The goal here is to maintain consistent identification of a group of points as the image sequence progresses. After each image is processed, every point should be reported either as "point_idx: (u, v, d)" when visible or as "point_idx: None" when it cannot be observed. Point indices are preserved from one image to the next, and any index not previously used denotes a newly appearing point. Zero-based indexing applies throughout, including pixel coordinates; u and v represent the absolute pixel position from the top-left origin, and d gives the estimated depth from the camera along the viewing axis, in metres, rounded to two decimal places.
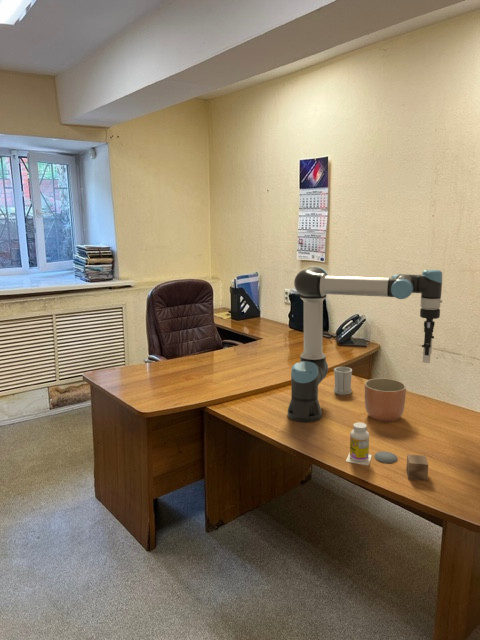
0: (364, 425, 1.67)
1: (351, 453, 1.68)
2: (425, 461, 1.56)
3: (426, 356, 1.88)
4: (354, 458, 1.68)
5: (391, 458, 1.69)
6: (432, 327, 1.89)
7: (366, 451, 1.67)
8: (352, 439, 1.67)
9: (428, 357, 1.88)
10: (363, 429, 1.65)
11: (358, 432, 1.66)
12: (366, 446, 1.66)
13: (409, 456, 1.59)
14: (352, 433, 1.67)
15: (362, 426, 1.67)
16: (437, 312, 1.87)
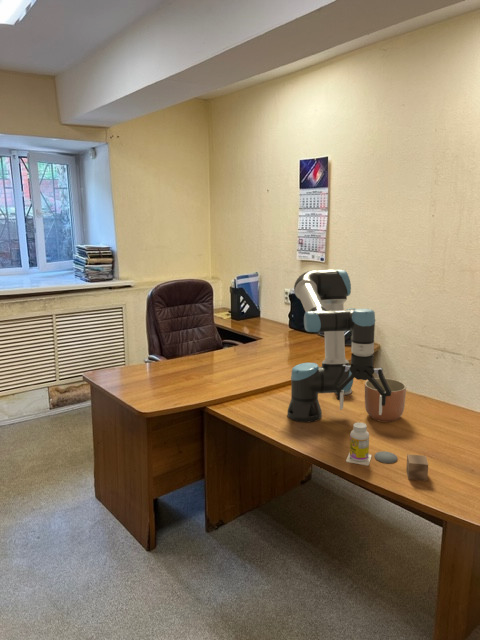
0: (364, 425, 1.67)
1: (351, 453, 1.68)
2: (425, 461, 1.56)
3: None
4: (354, 458, 1.68)
5: (391, 458, 1.69)
6: (352, 374, 1.63)
7: (366, 451, 1.67)
8: (352, 439, 1.67)
9: None
10: (363, 429, 1.65)
11: (358, 432, 1.66)
12: (366, 446, 1.66)
13: (409, 456, 1.59)
14: (352, 433, 1.67)
15: (362, 426, 1.67)
16: (353, 358, 1.60)
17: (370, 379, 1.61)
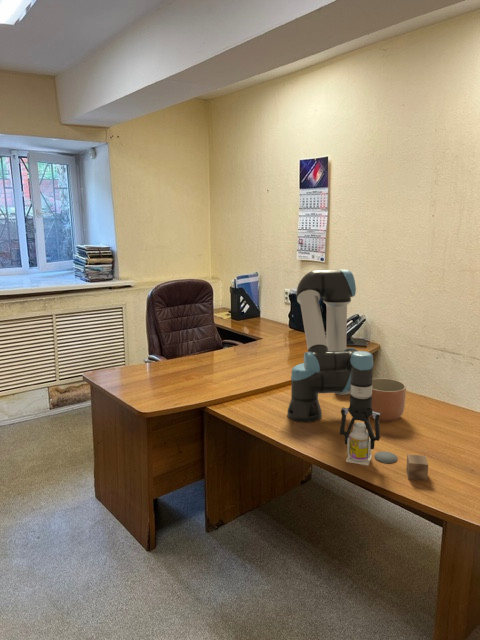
0: (364, 425, 1.67)
1: (351, 453, 1.68)
2: (425, 461, 1.55)
3: None
4: (354, 458, 1.68)
5: (391, 458, 1.69)
6: (352, 416, 1.66)
7: (366, 451, 1.67)
8: (352, 439, 1.67)
9: None
10: (363, 429, 1.65)
11: (358, 432, 1.66)
12: (366, 446, 1.66)
13: (409, 456, 1.59)
14: (352, 433, 1.67)
15: (362, 425, 1.67)
16: (352, 400, 1.64)
17: (366, 422, 1.64)
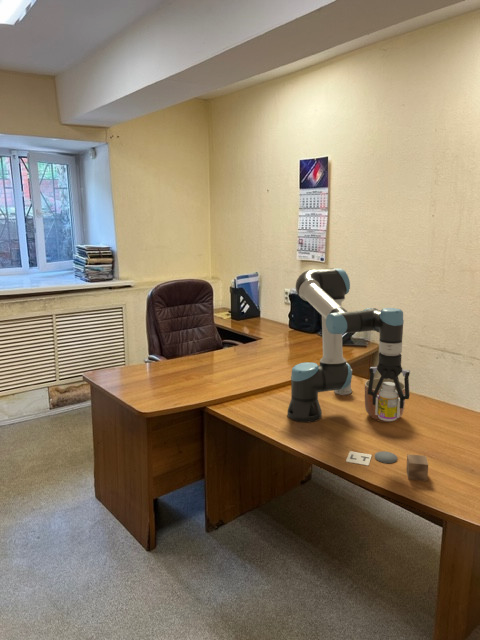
0: (393, 384, 1.64)
1: (379, 413, 1.65)
2: (425, 461, 1.55)
3: None
4: (383, 418, 1.64)
5: (391, 458, 1.69)
6: (381, 375, 1.63)
7: (395, 410, 1.63)
8: (381, 398, 1.64)
9: None
10: (392, 387, 1.62)
11: (387, 391, 1.63)
12: (395, 405, 1.63)
13: (409, 456, 1.59)
14: (381, 392, 1.64)
15: (391, 384, 1.63)
16: (381, 358, 1.60)
17: (395, 380, 1.61)
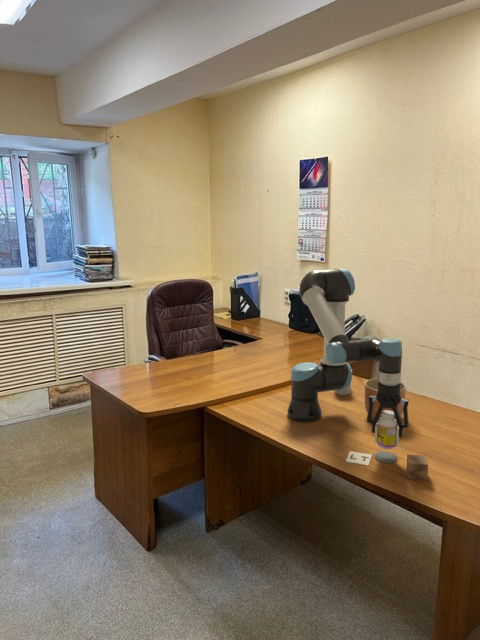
0: (392, 413, 1.66)
1: (379, 441, 1.67)
2: (425, 461, 1.55)
3: None
4: (382, 446, 1.66)
5: (391, 458, 1.69)
6: (380, 404, 1.65)
7: (394, 439, 1.66)
8: (380, 427, 1.66)
9: (375, 436, 1.69)
10: (391, 416, 1.64)
11: (386, 420, 1.65)
12: (394, 434, 1.65)
13: (409, 456, 1.59)
14: (380, 421, 1.66)
15: (390, 413, 1.65)
16: (381, 387, 1.63)
17: (394, 409, 1.63)
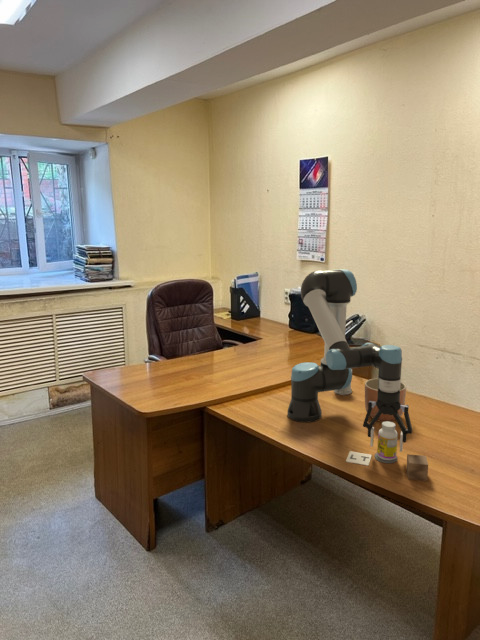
0: (393, 424, 1.67)
1: (379, 452, 1.68)
2: (425, 461, 1.55)
3: None
4: (382, 457, 1.67)
5: None
6: (379, 410, 1.66)
7: (394, 450, 1.67)
8: (381, 438, 1.67)
9: None
10: (392, 428, 1.65)
11: (387, 431, 1.66)
12: (394, 445, 1.66)
13: (409, 456, 1.59)
14: (381, 432, 1.67)
15: (391, 424, 1.66)
16: (380, 394, 1.63)
17: (395, 415, 1.64)
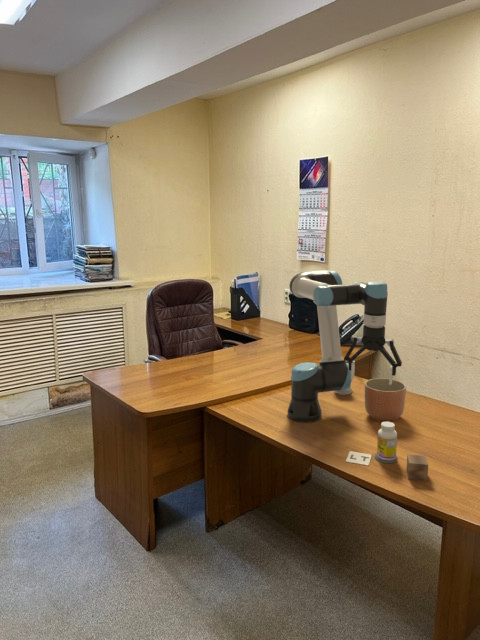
0: (392, 424, 1.67)
1: (379, 452, 1.68)
2: (425, 461, 1.55)
3: None
4: (382, 457, 1.67)
5: None
6: (364, 345, 1.68)
7: (394, 450, 1.67)
8: (380, 438, 1.67)
9: (351, 373, 1.73)
10: (391, 428, 1.65)
11: (386, 431, 1.66)
12: (394, 445, 1.66)
13: (409, 456, 1.59)
14: (380, 432, 1.67)
15: (390, 425, 1.66)
16: (366, 330, 1.65)
17: (381, 350, 1.66)
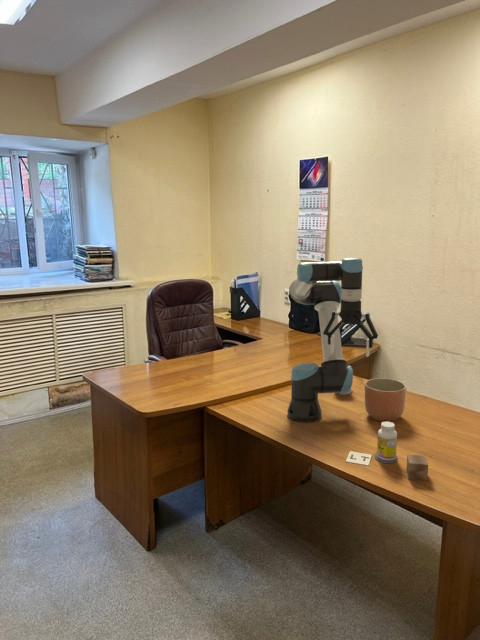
0: (392, 424, 1.67)
1: (379, 452, 1.68)
2: (425, 461, 1.55)
3: None
4: (382, 457, 1.67)
5: None
6: (342, 319, 1.76)
7: (394, 450, 1.67)
8: (380, 438, 1.67)
9: None
10: (391, 428, 1.65)
11: (386, 431, 1.66)
12: (394, 445, 1.66)
13: (409, 456, 1.59)
14: (380, 432, 1.67)
15: (390, 425, 1.66)
16: (343, 304, 1.73)
17: (358, 323, 1.74)
